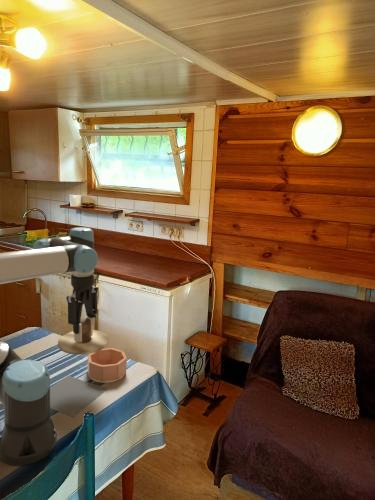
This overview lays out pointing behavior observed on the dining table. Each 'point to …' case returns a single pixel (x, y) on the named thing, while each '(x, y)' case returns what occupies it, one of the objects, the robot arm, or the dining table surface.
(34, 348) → the dining table surface
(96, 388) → the mat
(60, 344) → the lid
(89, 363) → the bowl
